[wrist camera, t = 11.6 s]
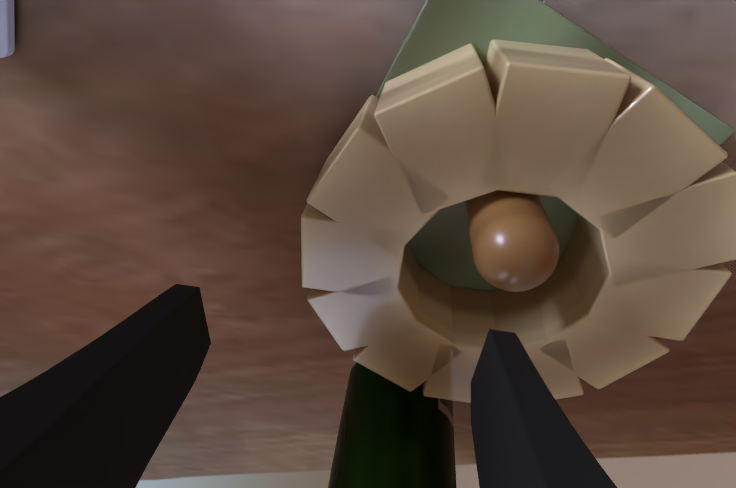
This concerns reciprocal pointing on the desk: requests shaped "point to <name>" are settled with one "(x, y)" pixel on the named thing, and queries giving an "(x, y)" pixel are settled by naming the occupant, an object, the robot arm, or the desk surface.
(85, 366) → the robot arm
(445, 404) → the beer can
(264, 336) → the desk surface
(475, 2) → the stand
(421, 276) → the ring
